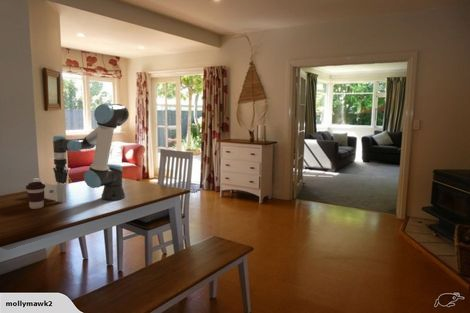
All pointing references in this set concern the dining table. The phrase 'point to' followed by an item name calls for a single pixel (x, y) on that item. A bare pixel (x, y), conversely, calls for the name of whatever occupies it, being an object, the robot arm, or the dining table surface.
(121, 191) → the robot arm
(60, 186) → the wall frame
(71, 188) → the dining table surface
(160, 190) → the dining table surface
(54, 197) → the door
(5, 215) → the dining table surface
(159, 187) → the dining table surface
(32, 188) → the coffee cup
